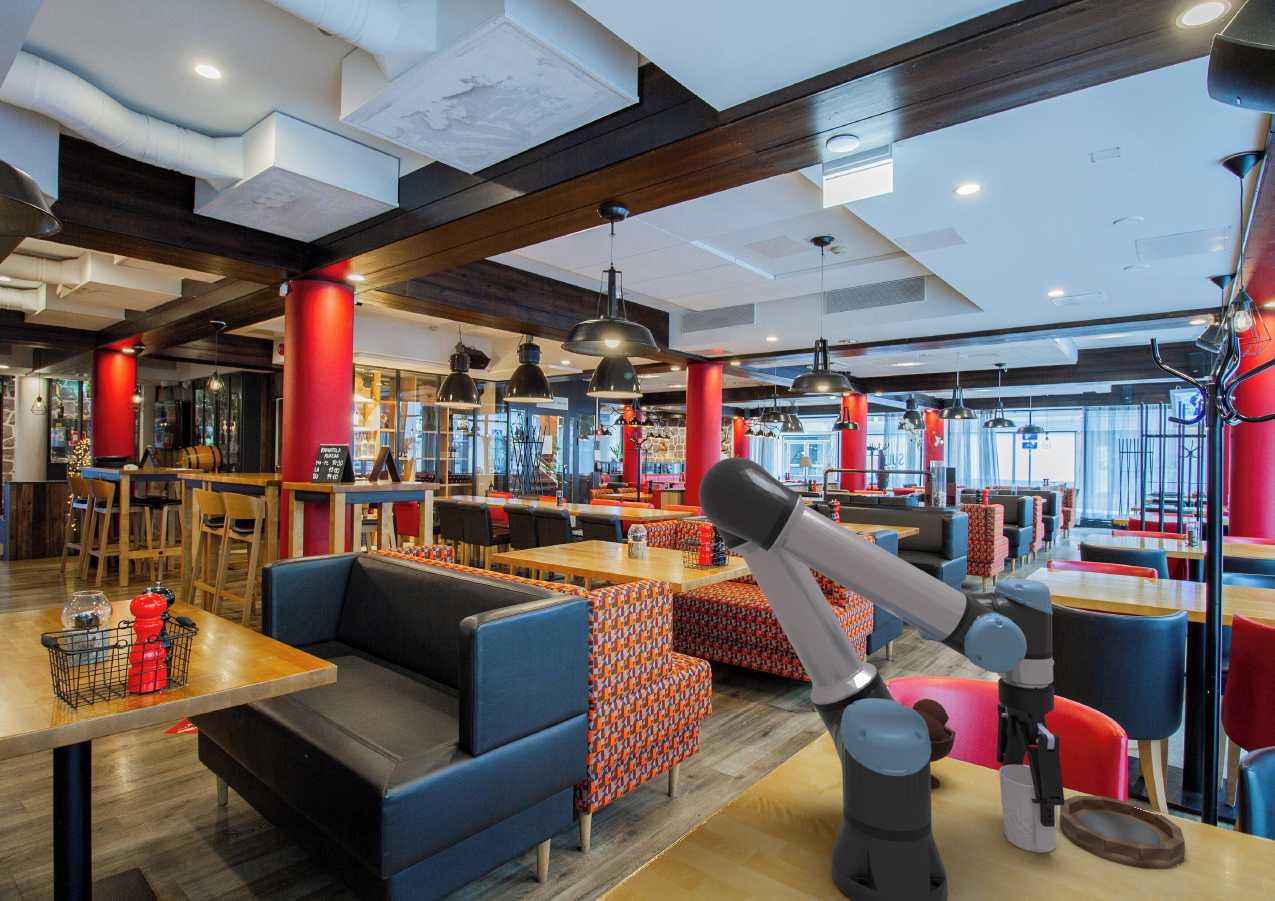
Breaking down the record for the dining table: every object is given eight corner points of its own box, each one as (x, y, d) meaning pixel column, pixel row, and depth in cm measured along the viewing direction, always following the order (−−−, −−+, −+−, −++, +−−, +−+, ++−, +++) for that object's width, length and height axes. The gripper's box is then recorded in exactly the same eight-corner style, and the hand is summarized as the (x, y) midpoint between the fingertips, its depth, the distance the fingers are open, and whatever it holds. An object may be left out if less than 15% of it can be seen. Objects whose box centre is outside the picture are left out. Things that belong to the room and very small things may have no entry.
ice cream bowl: (907, 763, 130) (906, 686, 131) (967, 783, 122) (965, 700, 123) (881, 781, 123) (879, 699, 124) (942, 803, 115) (940, 715, 115)
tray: (1099, 867, 96) (1098, 847, 96) (1040, 811, 112) (1039, 794, 112) (1212, 869, 95) (1212, 849, 95) (1136, 813, 111) (1136, 796, 111)
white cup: (1069, 858, 99) (1067, 789, 99) (1010, 852, 100) (1009, 785, 100) (1047, 829, 106) (1046, 765, 107) (994, 825, 108) (992, 762, 108)
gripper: (1091, 703, 94) (1096, 869, 93) (1016, 661, 114) (1020, 797, 113) (1036, 703, 94) (1041, 868, 93) (971, 661, 114) (974, 796, 114)
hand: (1029, 829), depth 103 cm, fingers closed on white cup, 8 cm apart
